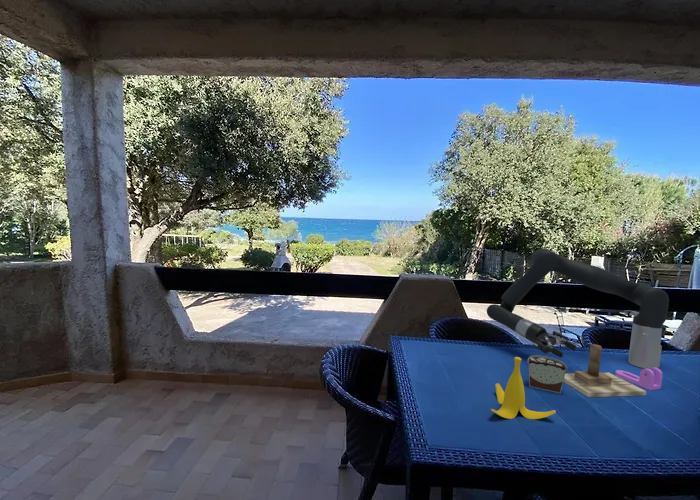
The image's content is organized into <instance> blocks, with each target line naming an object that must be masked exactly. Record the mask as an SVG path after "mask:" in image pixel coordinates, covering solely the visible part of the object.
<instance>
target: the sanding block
mask: <svg viewBox="0 0 700 500" xmlns="http://www.w3.org/2000/svg"><path fill="white" fill-rule="evenodd" d="M602 350H603V349H602V345H599V344H597V343H596V344H595V343H591V344H590V346H589V355H588V366H587V370H574V373H575V375H574V379H576V380H578V381H579V382H581V383H583V384H584V385H586V386H588V387H591V386H611V382H612V378H611V377H609V376H607V375H605V374H603V373H604V372H601V371H600V368H601V367H600V366H601V359H602V357H601V356H602Z"/></svg>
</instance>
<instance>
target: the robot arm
mask: <svg viewBox="0 0 700 500" xmlns="http://www.w3.org/2000/svg"><path fill="white" fill-rule="evenodd" d="M530 260H531V262H532V265H531V266H530V268H529V269H528V270H527V271H526V272H525V273H524V274H523V275H522V276H521V277H520V278H518V279H517V280H515V282H513V283H512V284H511V285H509V286H510V287H508V288H507V289H506V290H505V292H504V293H503V294H502V295H501V303H500V305H499V304H496V303H494V304H490V305H489V306H488V307H487V308H486V314H487V316H488V317H489V318H490V319H491V320H494V321H495V322H498V323H499V324H501V325H503V326H505V327H507V328H508V329H510V330H511V331H513V332H514V333H516V334H518V335H519V336H521V337H523V338H524V339H526V340H528V341H529V342H531V343H533V345H532V346H533V347H534V348H535V349H537V350H539V351H540V352H542V353H543V354H548V353H549V354H552V355H555V356H556V357H559V358H563V357H564V355H565V354H564V352H563V351H561V350H559V349H558V348H556V347H553V346H564V347H566V348H567V349H570V350H571V351H573V352H575V351H576V350H577V345H575V344H574V343H572V342H570V341H569V337H568V336H566V335H564V334H562V333H560V332H557V331H556V330H553V331H552V333H549V332H548V331H547V330H546V328H545V327H543V326H541V325H540V324H537V323H535V322H534V321H531V320H529V319H527V318H524V317H523V316H521V315H518V314H516V313H513V311H514V310H515V307H516V306H517V304H519V303H520V301H521V300H523V299H524V297H526V295H527V294H528V293H529V292H530V291H531V289H533V287H534V286H535V285H536V284H538V283H539V282H540V281H541V280H542V279H543V278H545V277H546V276H547V275H549V273H551V272H555V273H558V274H561V275H562V276H565V277H566V278H569V279H571V280H573V281H574V282H575V283H578V284H581V285H583V286H585V287H587V288H590V289H593V290H596V291H600V292H604V293H607V294H612V295H616V296H619V297H621V298H624V299H625V300H628V301H630V302H632V303H634V304H636V305H637V306H640V307H639V310H638V311H639V312H638V314H636V315H634V316H633V318H632V325H631V335H630V344H629V352H628V361H627V362H628V363H629V364H630V365H632V366H635V367H638V368H642V369H650V368H658V369H660V365H661V356H662V349H663V345H661V340H662V334H663V333H662V331H663V325H664V324H665V322H666V321H667V316H668V310H669V304H670V298H669V295H668V293H667V292H666V291H665V290H663V289H660V288H658V287H654V286H651V285H646V284H642V283H638V282H634V281H630V280H628V279H625V278H623V277H620V276H619V275H617V274H615V273H613V272H611V271H608V270H606V269H603V268H601V267H598V266H596V265H592V264H589V263H585V262H582V261H578V260H574V259H570V258H567V257H564V256H562V255H561V254H557V253H556V252H554V251H552V250H550V249H548V248H538V249H536V250H535V251H533V252H532V254H531V256H530Z"/></svg>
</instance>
